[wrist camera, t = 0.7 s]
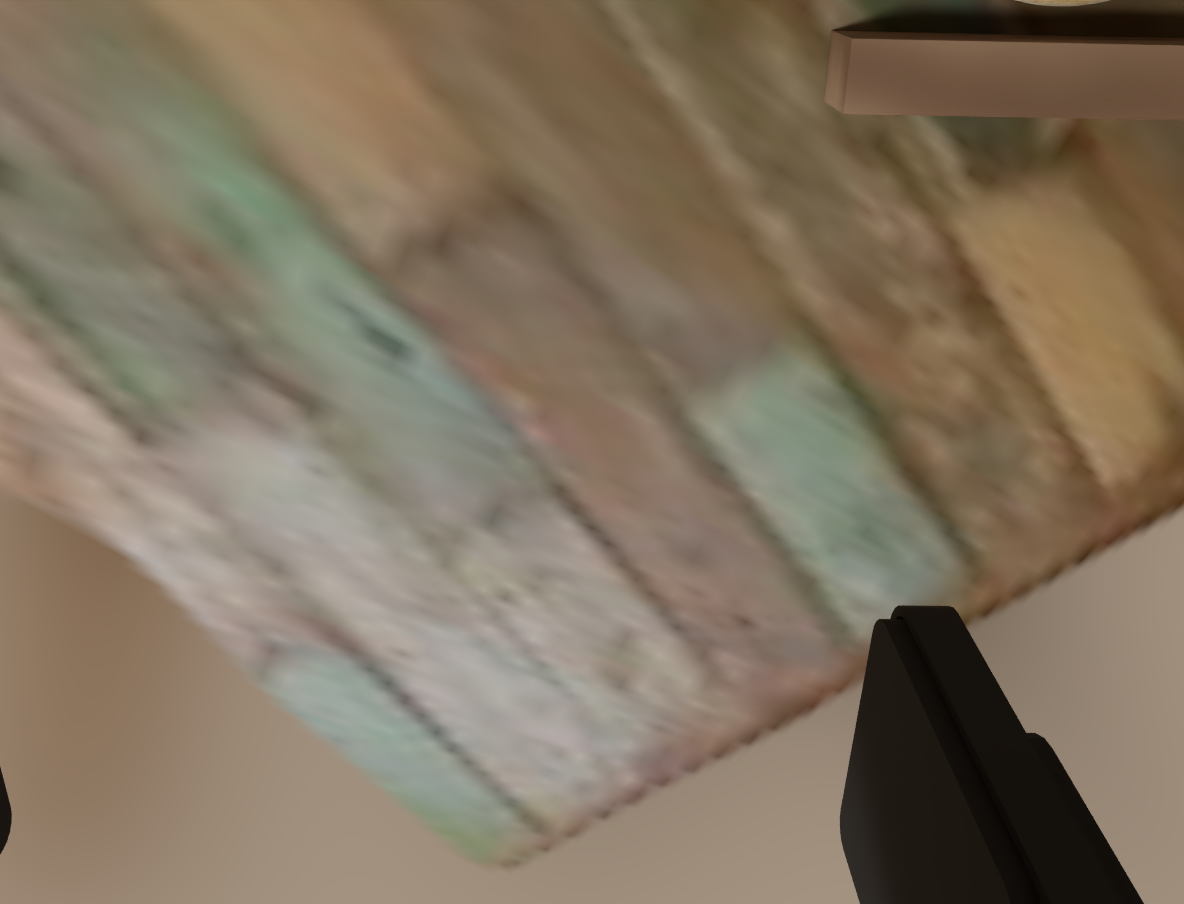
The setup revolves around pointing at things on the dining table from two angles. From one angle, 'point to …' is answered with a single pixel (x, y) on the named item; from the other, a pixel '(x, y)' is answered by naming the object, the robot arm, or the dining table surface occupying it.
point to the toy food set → (1062, 2)
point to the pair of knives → (1005, 75)
